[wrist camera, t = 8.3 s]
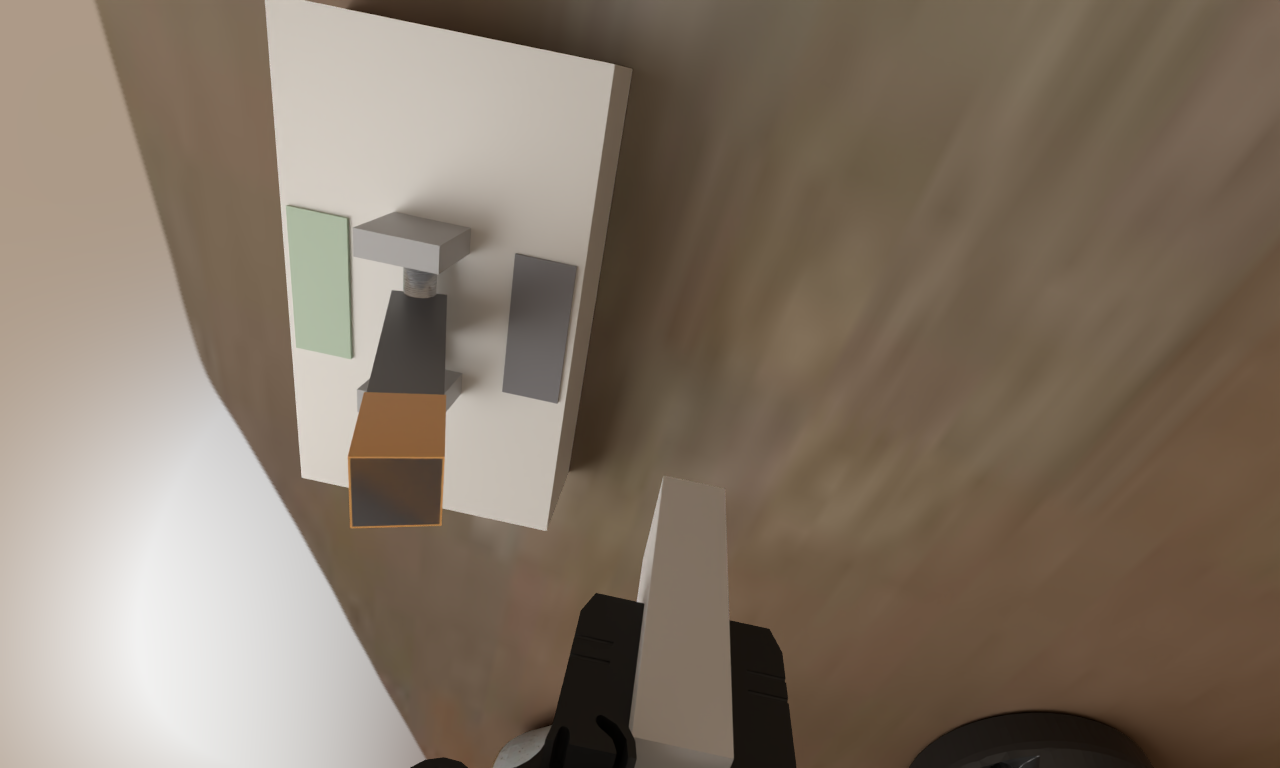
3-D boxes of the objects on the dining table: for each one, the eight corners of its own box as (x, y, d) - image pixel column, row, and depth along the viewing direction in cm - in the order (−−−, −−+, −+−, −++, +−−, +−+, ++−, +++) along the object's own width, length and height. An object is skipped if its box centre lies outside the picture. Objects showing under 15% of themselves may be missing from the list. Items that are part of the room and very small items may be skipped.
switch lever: (445, 361, 26) (440, 559, 16) (391, 359, 25) (351, 563, 15) (449, 260, 24) (446, 415, 14) (391, 254, 23) (345, 412, 13)
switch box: (568, 472, 34) (529, 575, 27) (356, 426, 34) (260, 516, 27) (632, 68, 25) (599, 60, 18) (344, 9, 25) (196, -23, 18)
